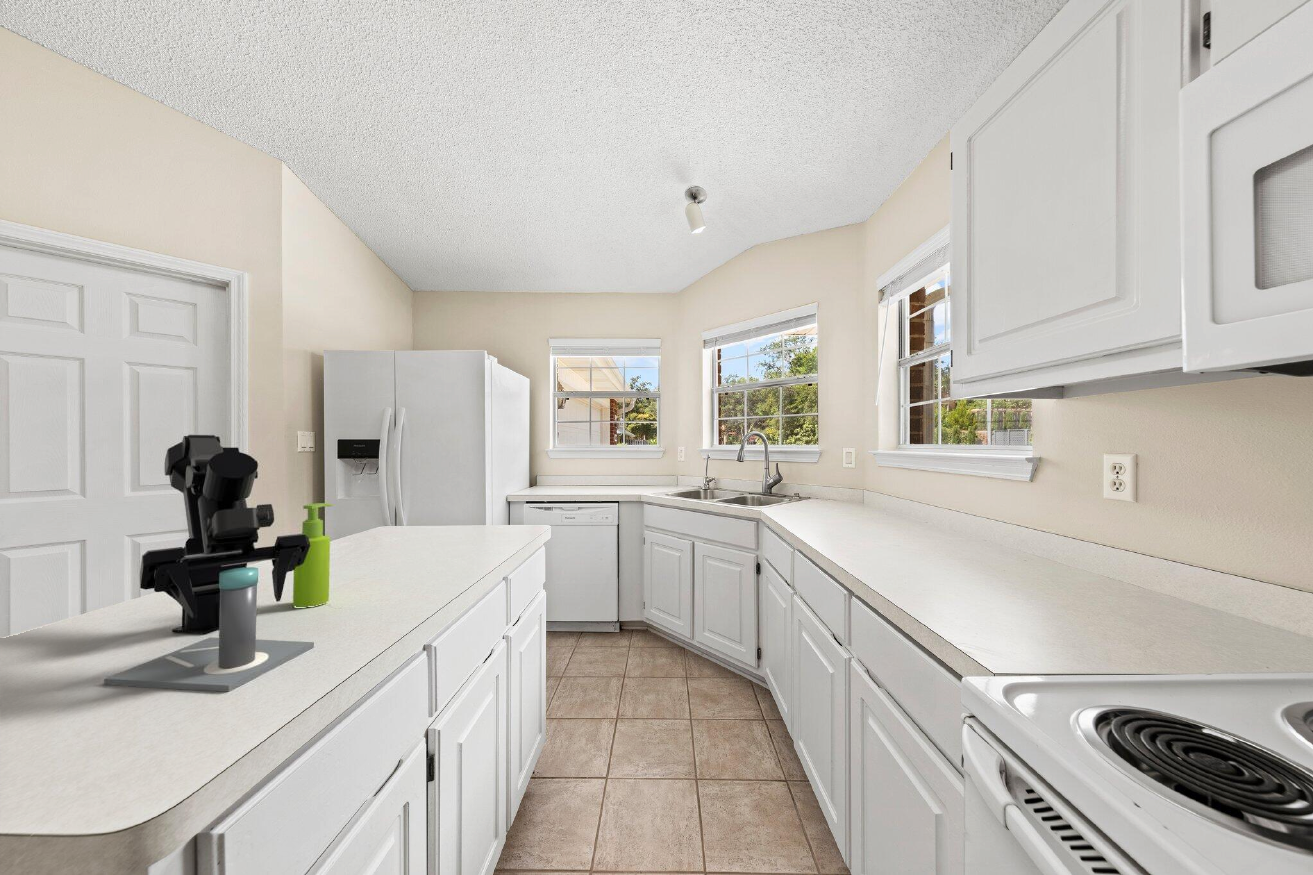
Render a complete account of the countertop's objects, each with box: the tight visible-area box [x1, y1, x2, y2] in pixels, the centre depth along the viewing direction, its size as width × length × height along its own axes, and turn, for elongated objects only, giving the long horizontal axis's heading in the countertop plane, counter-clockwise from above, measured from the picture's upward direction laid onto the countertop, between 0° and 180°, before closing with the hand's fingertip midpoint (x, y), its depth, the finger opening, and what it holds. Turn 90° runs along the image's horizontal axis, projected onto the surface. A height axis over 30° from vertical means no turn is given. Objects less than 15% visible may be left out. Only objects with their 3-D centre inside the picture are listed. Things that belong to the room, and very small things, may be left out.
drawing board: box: [103, 636, 315, 693], centre depth 71 cm, size 18×14×1 cm
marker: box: [218, 566, 259, 669], centre depth 69 cm, size 4×4×13 cm
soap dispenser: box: [292, 502, 333, 607], centre depth 98 cm, size 6×7×20 cm
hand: (239, 607), depth 69 cm, fingers open, 9 cm apart
